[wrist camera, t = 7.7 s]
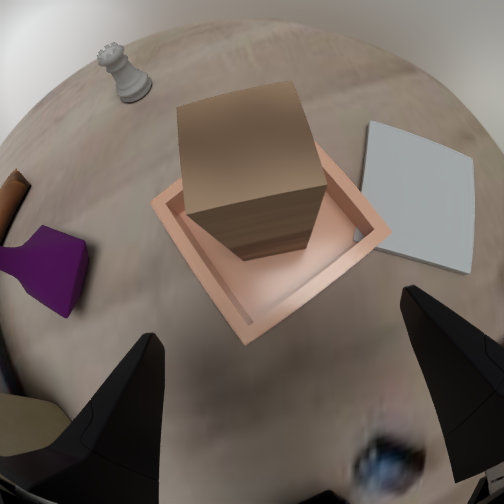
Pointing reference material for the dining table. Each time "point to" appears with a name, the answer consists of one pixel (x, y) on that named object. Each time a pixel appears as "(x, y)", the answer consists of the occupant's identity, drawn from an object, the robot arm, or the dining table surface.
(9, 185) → the sunglasses case
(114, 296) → the dining table surface
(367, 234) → the box
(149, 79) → the rook chess piece
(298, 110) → the walnut block
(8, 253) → the perfume bottle
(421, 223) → the light grey board
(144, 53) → the dining table surface
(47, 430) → the plant pot
